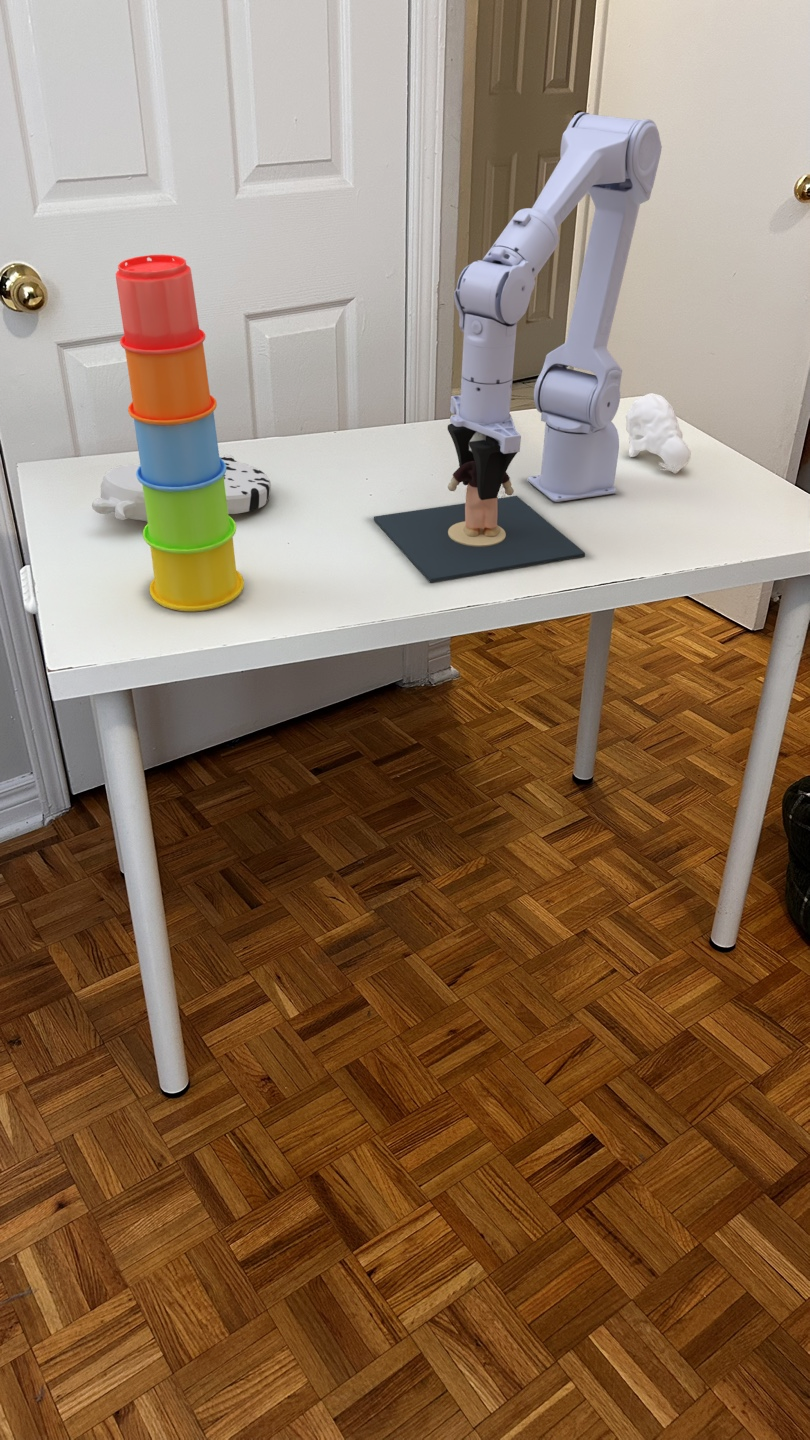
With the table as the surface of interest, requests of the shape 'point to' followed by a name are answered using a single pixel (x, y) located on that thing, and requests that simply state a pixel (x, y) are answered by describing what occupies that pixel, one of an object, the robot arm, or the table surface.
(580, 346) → the robot arm
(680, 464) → the white lumpy figurine
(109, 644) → the table surface
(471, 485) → the grandmother figurine
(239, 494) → the toy
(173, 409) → the stacking cups
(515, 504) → the display mat
